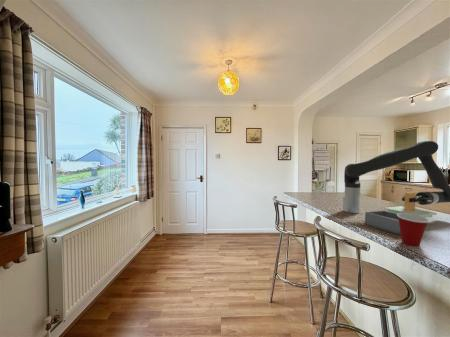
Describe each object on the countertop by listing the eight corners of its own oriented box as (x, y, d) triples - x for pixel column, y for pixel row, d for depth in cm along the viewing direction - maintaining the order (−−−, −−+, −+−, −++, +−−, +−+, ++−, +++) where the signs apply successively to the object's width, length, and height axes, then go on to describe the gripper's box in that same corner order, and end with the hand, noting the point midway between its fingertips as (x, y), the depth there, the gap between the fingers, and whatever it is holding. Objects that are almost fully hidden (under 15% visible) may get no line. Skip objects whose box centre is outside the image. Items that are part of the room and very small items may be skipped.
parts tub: (364, 224, 122) (365, 212, 122) (383, 222, 126) (383, 210, 126) (399, 235, 105) (399, 221, 105) (418, 232, 109) (419, 218, 109)
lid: (384, 211, 132) (385, 191, 131) (401, 209, 136) (401, 190, 135) (419, 219, 115) (419, 196, 114) (436, 217, 119) (437, 194, 118)
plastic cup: (415, 250, 88) (417, 220, 87) (389, 240, 98) (390, 214, 98) (435, 247, 91) (436, 219, 90) (407, 238, 101) (408, 212, 101)
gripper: (413, 190, 136) (393, 191, 130) (441, 193, 122) (420, 195, 117) (413, 202, 136) (393, 203, 131) (441, 206, 123) (420, 209, 117)
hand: (406, 199), depth 124 cm, fingers closed on lid, 3 cm apart
